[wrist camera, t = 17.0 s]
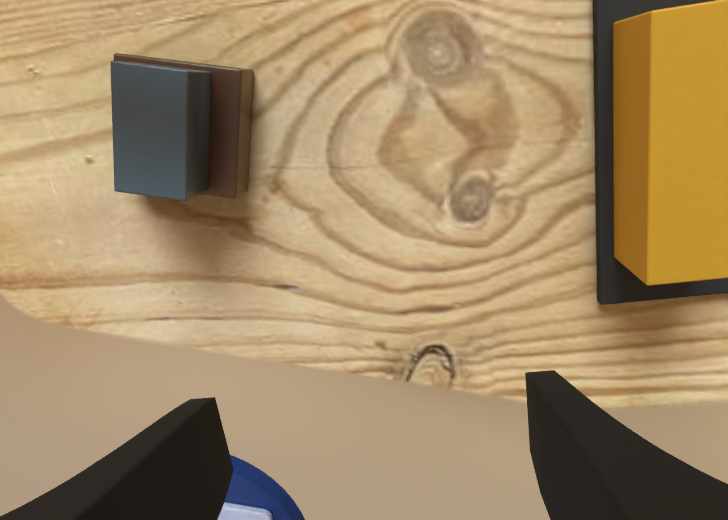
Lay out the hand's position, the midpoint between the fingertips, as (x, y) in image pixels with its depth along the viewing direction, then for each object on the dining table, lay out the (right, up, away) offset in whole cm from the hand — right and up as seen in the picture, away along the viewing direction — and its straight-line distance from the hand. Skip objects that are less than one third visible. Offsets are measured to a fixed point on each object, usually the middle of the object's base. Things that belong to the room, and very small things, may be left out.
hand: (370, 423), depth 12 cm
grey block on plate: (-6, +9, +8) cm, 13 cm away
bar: (+10, +8, +6) cm, 14 cm away
